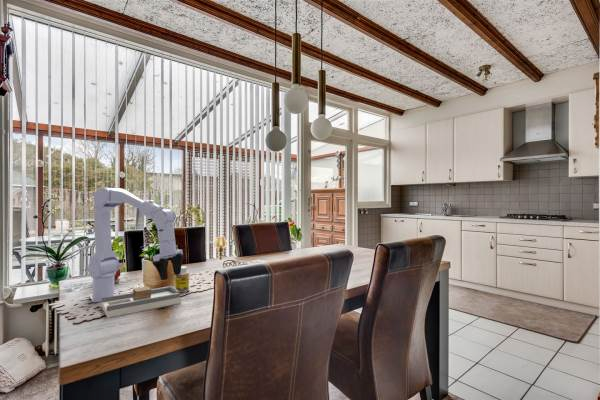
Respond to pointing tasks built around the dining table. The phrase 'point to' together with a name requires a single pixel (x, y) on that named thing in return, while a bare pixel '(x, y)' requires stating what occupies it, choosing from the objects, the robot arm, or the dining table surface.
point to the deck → (139, 301)
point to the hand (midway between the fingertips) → (171, 276)
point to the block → (141, 293)
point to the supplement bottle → (182, 280)
